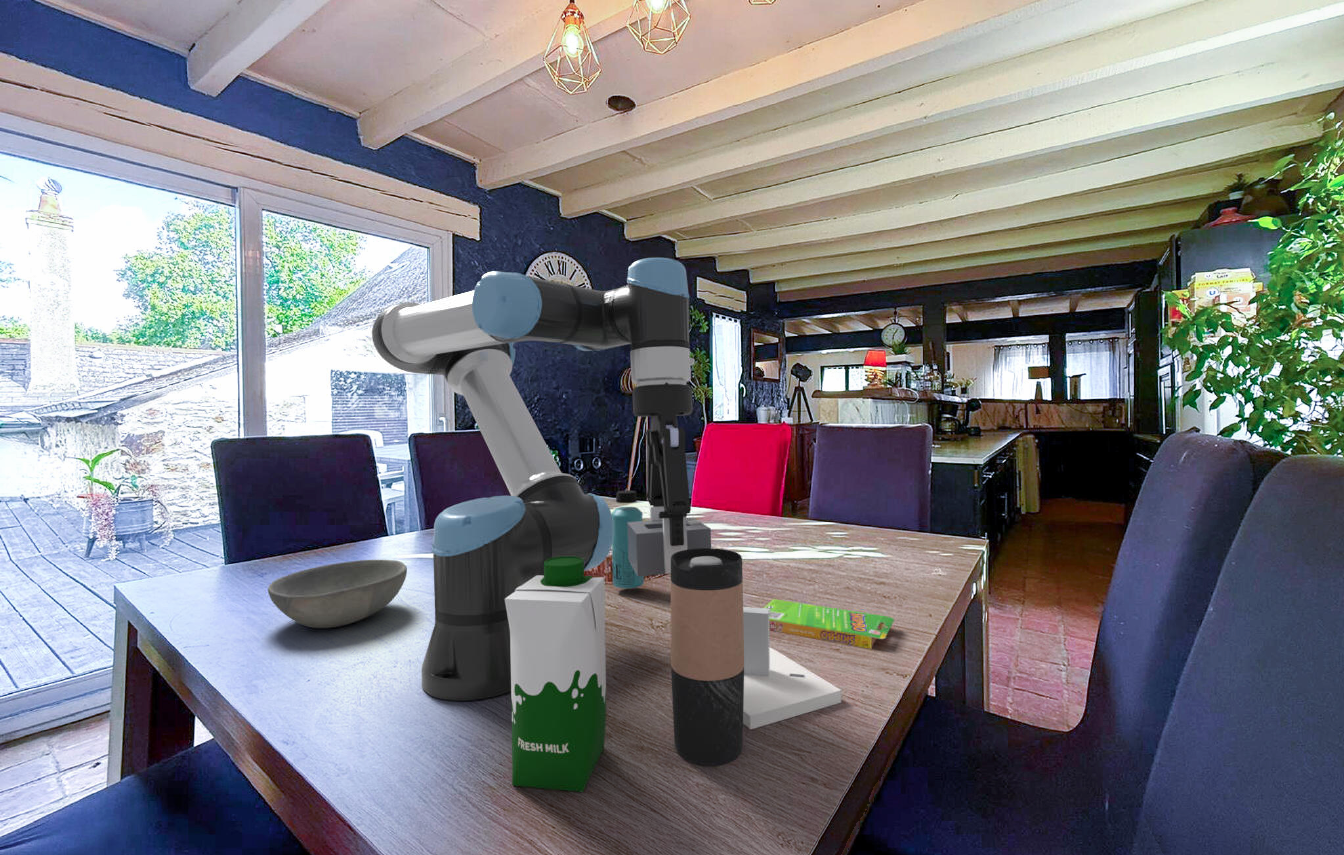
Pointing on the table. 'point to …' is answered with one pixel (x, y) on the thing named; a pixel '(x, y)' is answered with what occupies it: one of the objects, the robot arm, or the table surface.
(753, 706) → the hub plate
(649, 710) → the table surface
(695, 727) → the travel mug
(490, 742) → the table surface
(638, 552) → the gray slotted box
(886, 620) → the game box
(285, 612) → the bowl
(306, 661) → the table surface
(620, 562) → the beverage bottle
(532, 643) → the milk carton
